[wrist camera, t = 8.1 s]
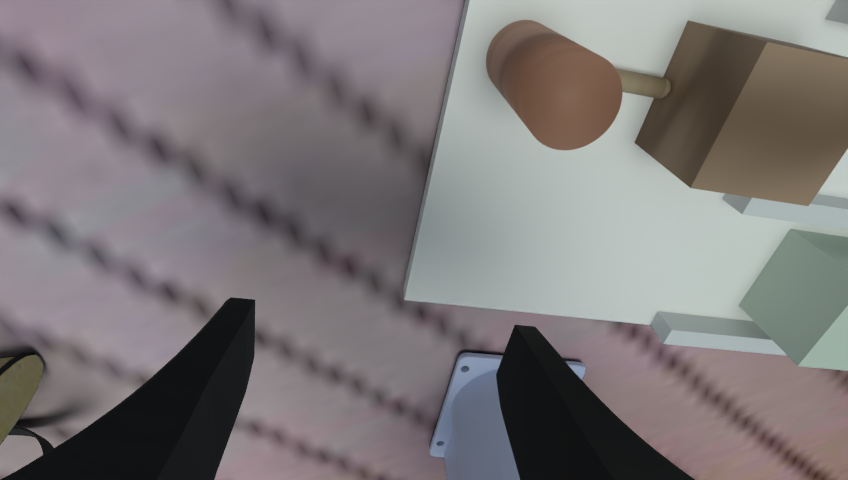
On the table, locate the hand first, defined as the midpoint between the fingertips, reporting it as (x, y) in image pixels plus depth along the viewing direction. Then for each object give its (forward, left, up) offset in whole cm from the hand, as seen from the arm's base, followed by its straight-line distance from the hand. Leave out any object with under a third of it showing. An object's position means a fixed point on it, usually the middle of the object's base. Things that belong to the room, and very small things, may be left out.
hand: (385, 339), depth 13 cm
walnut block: (+6, -9, -9) cm, 15 cm away
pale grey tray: (+3, -15, -10) cm, 18 cm away
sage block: (-1, -23, -9) cm, 25 cm away
